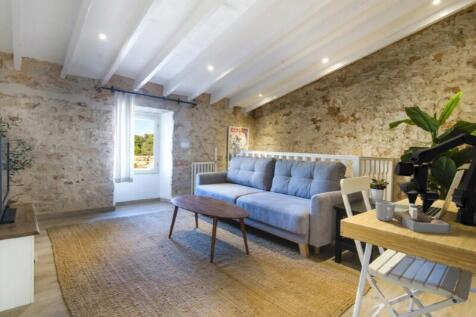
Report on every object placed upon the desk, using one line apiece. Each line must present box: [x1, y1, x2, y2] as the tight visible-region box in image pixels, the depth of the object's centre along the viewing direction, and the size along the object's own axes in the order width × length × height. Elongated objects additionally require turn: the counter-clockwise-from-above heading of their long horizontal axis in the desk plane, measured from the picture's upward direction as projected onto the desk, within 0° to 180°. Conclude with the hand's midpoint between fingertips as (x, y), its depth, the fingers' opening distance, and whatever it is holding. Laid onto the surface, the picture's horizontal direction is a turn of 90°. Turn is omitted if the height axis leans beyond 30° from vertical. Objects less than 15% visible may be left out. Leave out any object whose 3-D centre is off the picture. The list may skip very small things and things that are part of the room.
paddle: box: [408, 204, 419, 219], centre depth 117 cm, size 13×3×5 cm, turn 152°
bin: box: [401, 217, 452, 234], centre depth 108 cm, size 14×8×4 cm, turn 87°
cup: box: [375, 200, 397, 222], centre depth 117 cm, size 11×8×8 cm
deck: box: [393, 210, 433, 224], centre depth 118 cm, size 14×13×3 cm
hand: (417, 210), depth 121 cm, fingers open, 9 cm apart
